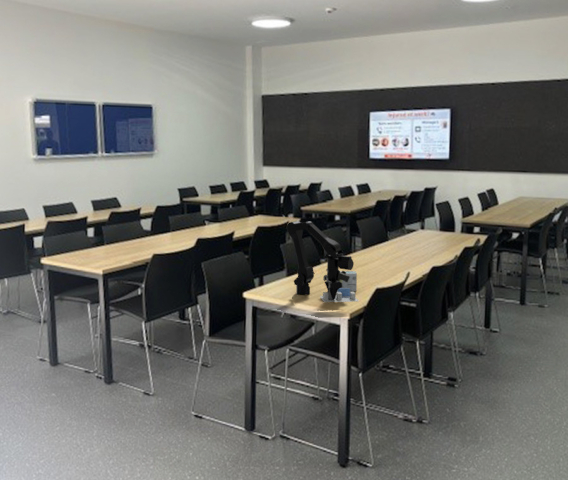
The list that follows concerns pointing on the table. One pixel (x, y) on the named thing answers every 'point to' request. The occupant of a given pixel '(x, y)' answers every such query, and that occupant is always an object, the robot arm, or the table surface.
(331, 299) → the dark gray cylinder
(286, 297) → the table surface
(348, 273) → the light bulb box
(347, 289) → the white base plate
